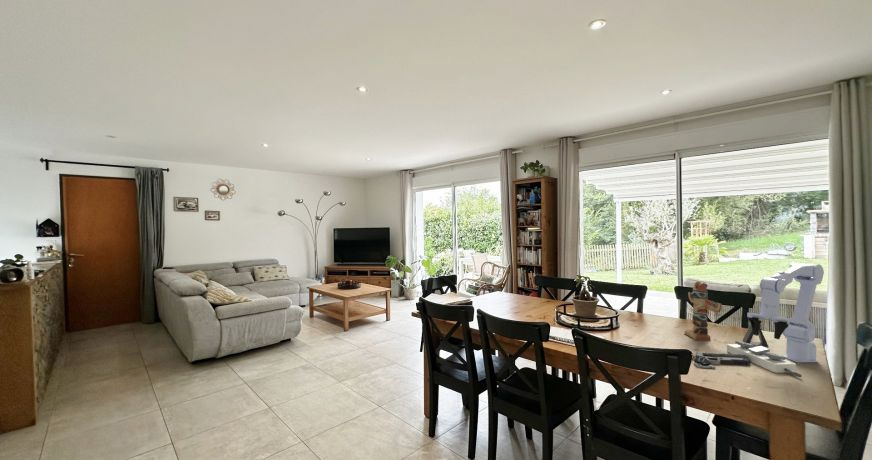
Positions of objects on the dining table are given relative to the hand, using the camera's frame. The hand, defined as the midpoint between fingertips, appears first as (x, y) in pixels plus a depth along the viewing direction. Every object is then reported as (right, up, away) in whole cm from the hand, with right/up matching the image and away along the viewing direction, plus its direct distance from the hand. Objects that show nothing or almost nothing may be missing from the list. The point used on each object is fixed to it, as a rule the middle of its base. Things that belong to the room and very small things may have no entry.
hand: (766, 337), depth 155 cm
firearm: (-16, -14, +5) cm, 22 cm away
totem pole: (-1, -12, +40) cm, 42 cm away
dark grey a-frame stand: (+20, -12, +28) cm, 37 cm away
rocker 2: (+3, -8, +7) cm, 11 cm away
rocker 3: (+3, -8, 0) cm, 9 cm away
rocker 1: (+3, -8, +14) cm, 16 cm away
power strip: (+3, -13, +4) cm, 14 cm away
